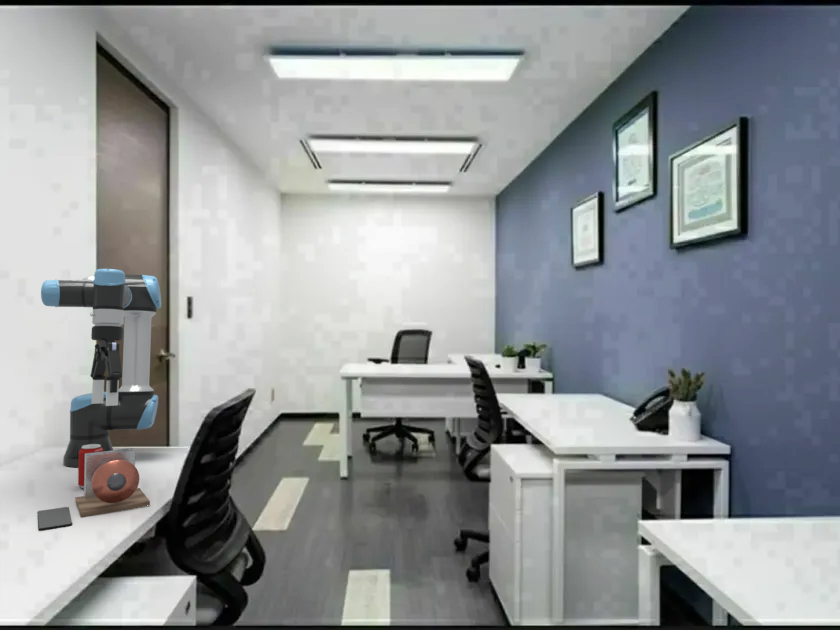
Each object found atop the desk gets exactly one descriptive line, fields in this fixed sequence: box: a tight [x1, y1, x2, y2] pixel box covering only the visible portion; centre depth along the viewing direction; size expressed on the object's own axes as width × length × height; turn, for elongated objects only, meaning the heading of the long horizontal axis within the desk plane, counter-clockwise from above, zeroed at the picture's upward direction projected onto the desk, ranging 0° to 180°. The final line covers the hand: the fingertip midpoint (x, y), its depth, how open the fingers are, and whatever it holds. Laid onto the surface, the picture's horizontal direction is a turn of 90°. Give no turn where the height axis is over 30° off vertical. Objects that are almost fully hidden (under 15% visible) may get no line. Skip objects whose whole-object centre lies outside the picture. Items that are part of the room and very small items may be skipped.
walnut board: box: [74, 487, 151, 518], centre depth 156 cm, size 14×16×1 cm
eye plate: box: [83, 447, 136, 500], centre depth 160 cm, size 3×12×13 cm, turn 126°
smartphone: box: [37, 506, 73, 532], centre depth 144 cm, size 7×1×15 cm
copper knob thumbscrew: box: [91, 459, 140, 503], centre depth 157 cm, size 16×11×11 cm
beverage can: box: [77, 444, 103, 490], centre depth 170 cm, size 6×6×12 cm
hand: (104, 404), depth 155 cm, fingers open, 13 cm apart
